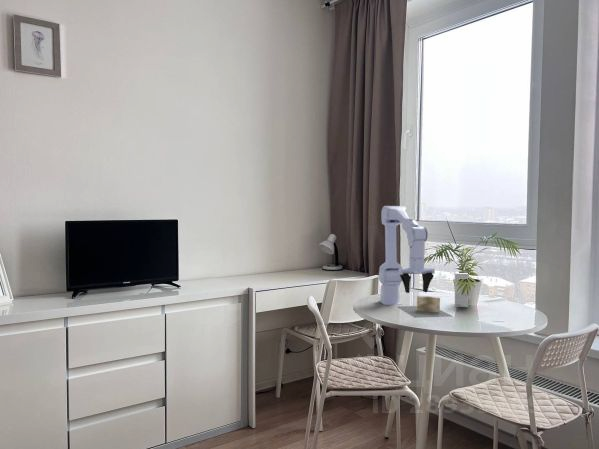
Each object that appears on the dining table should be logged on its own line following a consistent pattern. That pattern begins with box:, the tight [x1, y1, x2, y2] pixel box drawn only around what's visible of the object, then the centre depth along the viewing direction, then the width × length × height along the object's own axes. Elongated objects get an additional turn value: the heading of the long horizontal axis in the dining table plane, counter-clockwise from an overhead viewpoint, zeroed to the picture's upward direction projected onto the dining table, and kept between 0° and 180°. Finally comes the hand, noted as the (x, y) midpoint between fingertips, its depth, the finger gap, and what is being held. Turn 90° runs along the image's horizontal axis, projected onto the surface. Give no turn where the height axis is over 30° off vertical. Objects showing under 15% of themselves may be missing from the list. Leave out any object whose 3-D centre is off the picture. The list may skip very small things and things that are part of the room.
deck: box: [416, 295, 441, 312], centre depth 192 cm, size 9×2×6 cm, turn 68°
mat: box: [396, 305, 453, 318], centre depth 192 cm, size 20×16×1 cm
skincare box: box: [454, 271, 470, 308], centre depth 204 cm, size 8×6×15 cm
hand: (416, 292), depth 182 cm, fingers open, 7 cm apart
